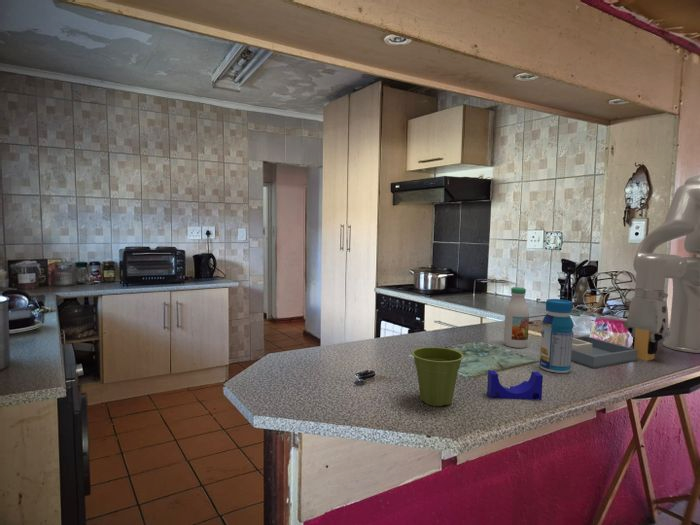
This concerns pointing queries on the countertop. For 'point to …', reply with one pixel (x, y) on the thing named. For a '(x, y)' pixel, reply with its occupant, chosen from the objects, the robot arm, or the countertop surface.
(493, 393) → the blue u-shaped cradle
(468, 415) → the countertop surface
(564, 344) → the beverage bottle
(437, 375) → the plant pot
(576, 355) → the walled box
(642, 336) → the orange square bottle
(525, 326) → the milk bottle
